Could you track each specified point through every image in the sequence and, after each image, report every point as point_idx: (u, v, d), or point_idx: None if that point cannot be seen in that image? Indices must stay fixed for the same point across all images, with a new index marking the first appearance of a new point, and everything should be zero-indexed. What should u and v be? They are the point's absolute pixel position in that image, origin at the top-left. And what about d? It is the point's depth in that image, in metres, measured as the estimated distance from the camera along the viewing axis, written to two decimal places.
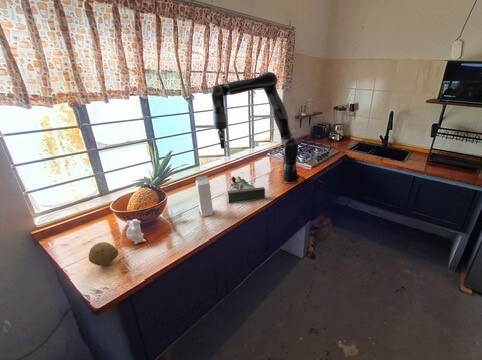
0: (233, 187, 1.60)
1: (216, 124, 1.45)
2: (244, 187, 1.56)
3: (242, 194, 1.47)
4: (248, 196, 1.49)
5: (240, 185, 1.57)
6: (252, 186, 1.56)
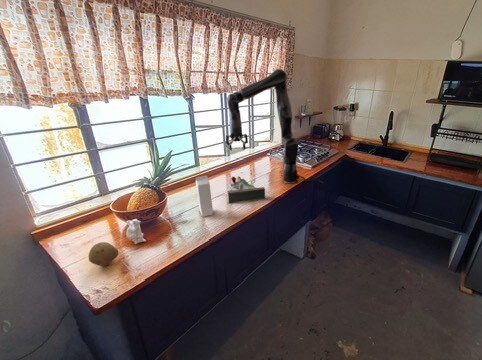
0: (233, 187, 1.60)
1: None
2: (244, 187, 1.56)
3: (242, 194, 1.47)
4: (248, 196, 1.49)
5: (240, 185, 1.57)
6: (252, 186, 1.56)
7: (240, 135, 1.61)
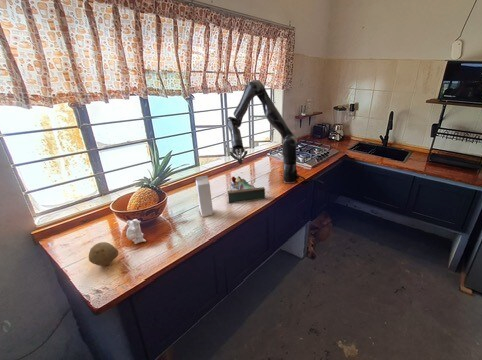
0: (233, 187, 1.61)
1: None
2: (244, 187, 1.56)
3: (242, 194, 1.47)
4: (248, 196, 1.49)
5: (240, 185, 1.57)
6: (252, 186, 1.56)
7: (242, 148, 1.70)
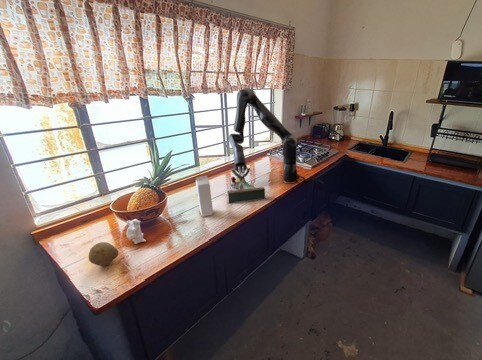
0: (233, 187, 1.60)
1: None
2: (244, 187, 1.56)
3: (242, 194, 1.47)
4: (248, 196, 1.49)
5: (240, 185, 1.57)
6: (252, 186, 1.56)
7: (244, 165, 1.68)
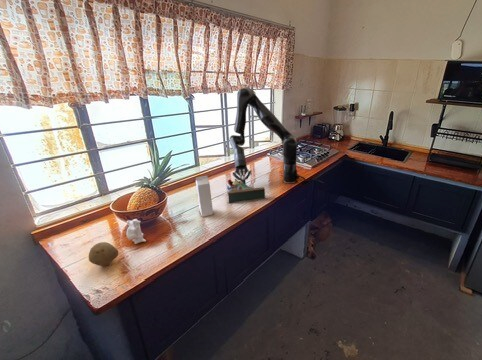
0: (231, 190, 1.56)
1: None
2: None
3: (242, 194, 1.47)
4: (248, 196, 1.49)
5: (239, 188, 1.54)
6: (251, 187, 1.54)
7: (245, 168, 1.63)
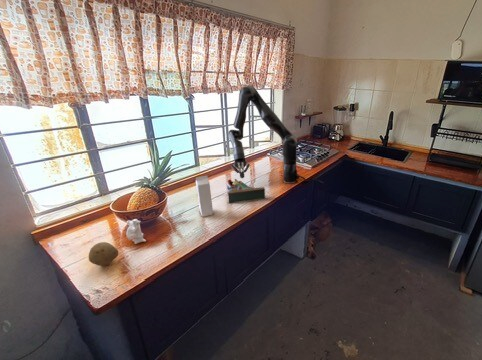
0: (231, 190, 1.56)
1: None
2: None
3: (242, 194, 1.47)
4: (248, 196, 1.49)
5: (239, 188, 1.54)
6: (251, 187, 1.54)
7: (244, 161, 1.67)
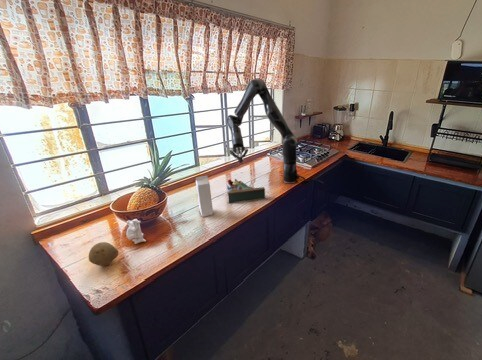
0: (231, 190, 1.56)
1: None
2: None
3: (242, 194, 1.47)
4: (248, 196, 1.49)
5: (239, 188, 1.54)
6: (251, 187, 1.54)
7: (242, 146, 1.67)
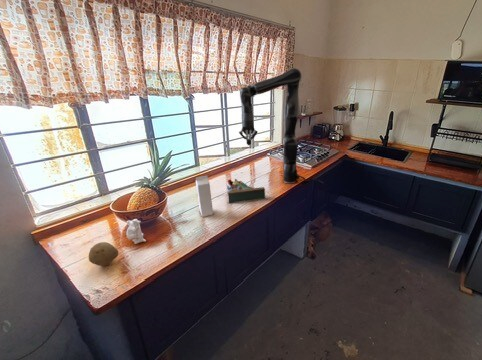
0: (231, 190, 1.56)
1: None
2: None
3: (242, 194, 1.47)
4: (248, 196, 1.49)
5: (239, 187, 1.54)
6: (251, 187, 1.54)
7: (252, 128, 1.63)
